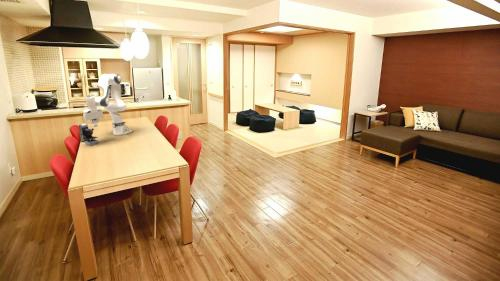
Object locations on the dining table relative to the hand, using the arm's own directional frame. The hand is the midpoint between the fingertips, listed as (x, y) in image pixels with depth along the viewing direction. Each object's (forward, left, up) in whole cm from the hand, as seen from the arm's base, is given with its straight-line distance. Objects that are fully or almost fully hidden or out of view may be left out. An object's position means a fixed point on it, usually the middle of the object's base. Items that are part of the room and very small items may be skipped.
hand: (94, 123), depth 288 cm
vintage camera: (+1, -15, -22) cm, 27 cm away
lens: (0, 0, -4) cm, 4 cm away
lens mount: (+7, -1, -22) cm, 23 cm away
